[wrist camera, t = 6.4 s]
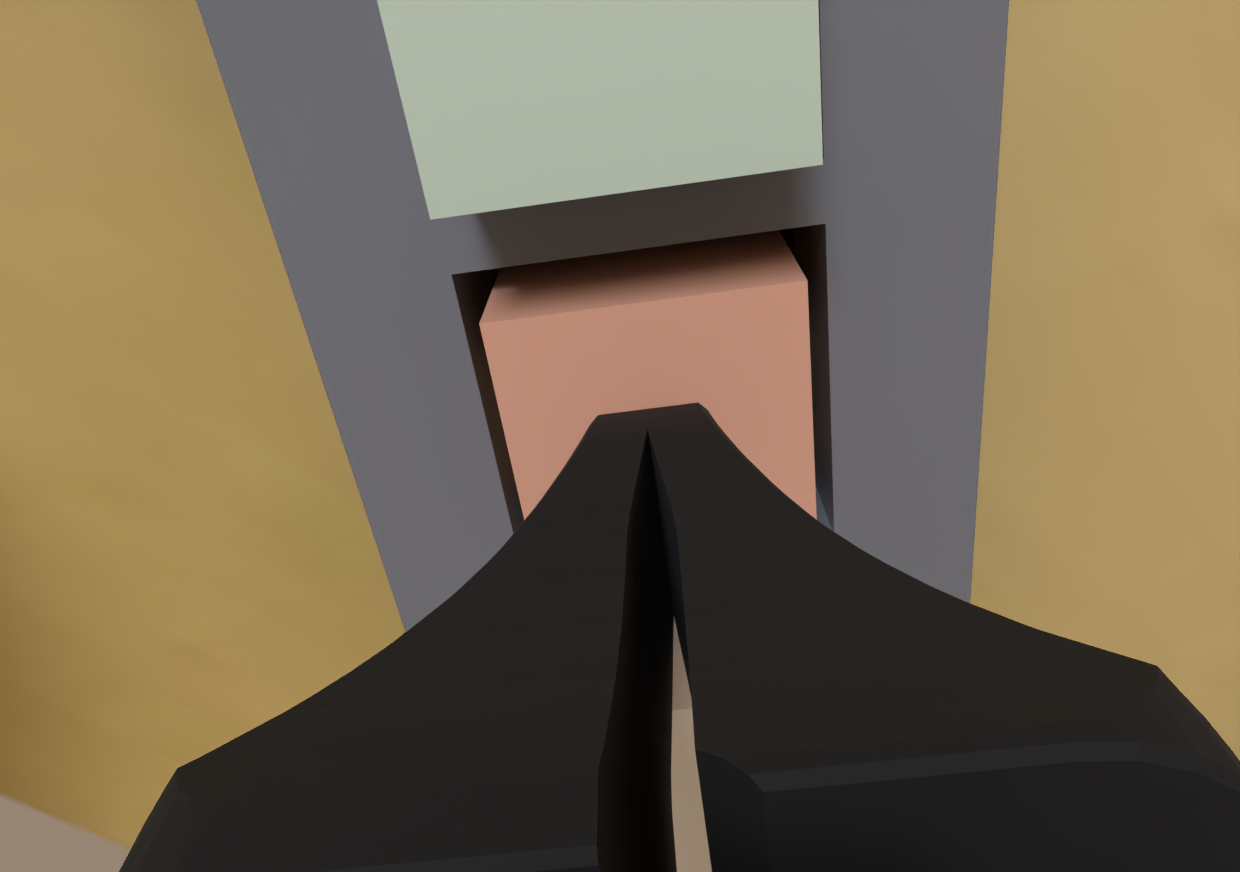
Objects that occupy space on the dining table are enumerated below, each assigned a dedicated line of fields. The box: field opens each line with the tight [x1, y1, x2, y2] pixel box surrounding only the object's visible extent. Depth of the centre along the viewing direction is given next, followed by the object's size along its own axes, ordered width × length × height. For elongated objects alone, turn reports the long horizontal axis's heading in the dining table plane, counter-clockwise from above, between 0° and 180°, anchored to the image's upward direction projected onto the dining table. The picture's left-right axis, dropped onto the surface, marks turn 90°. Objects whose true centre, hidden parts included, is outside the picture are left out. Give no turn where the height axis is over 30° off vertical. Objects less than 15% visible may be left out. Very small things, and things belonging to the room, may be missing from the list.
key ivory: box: [671, 618, 712, 872], centre depth 15 cm, size 4×4×3 cm
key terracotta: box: [479, 230, 817, 520], centre depth 13 cm, size 4×4×3 cm
